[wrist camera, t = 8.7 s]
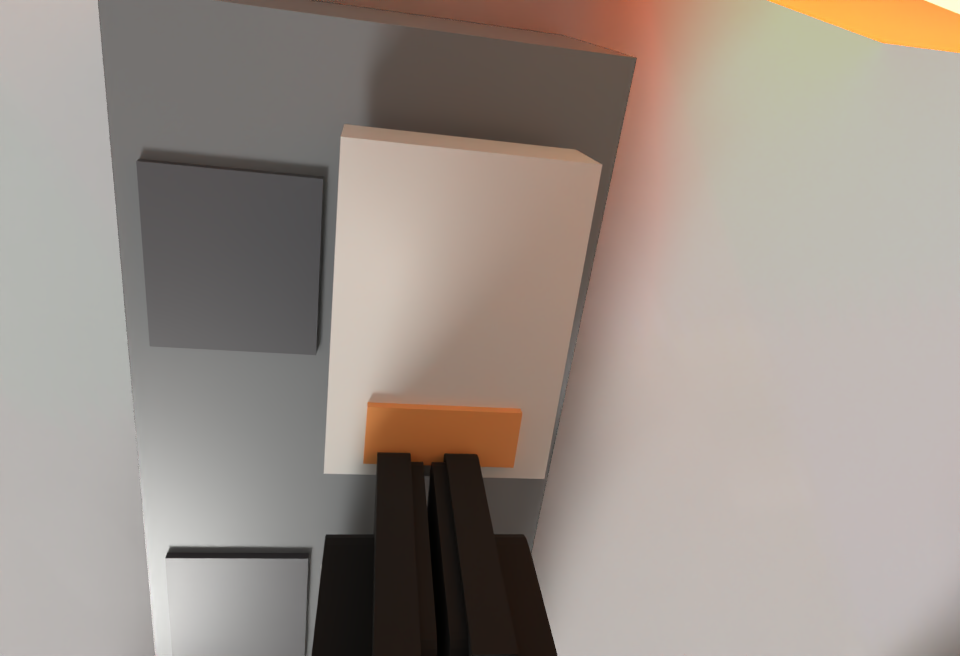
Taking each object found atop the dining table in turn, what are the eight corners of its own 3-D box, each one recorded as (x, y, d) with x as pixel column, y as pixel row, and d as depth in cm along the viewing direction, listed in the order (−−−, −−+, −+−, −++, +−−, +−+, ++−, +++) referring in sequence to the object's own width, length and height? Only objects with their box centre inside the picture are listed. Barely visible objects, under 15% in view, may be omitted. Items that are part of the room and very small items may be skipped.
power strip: (562, 34, 16) (647, 61, 11) (427, 836, 28) (438, 1014, 24) (182, -19, 14) (83, -16, 9) (217, 850, 27) (183, 1043, 22)
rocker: (576, 149, 11) (605, 166, 10) (527, 435, 13) (546, 484, 12) (344, 123, 11) (340, 138, 9) (328, 428, 12) (323, 478, 11)
